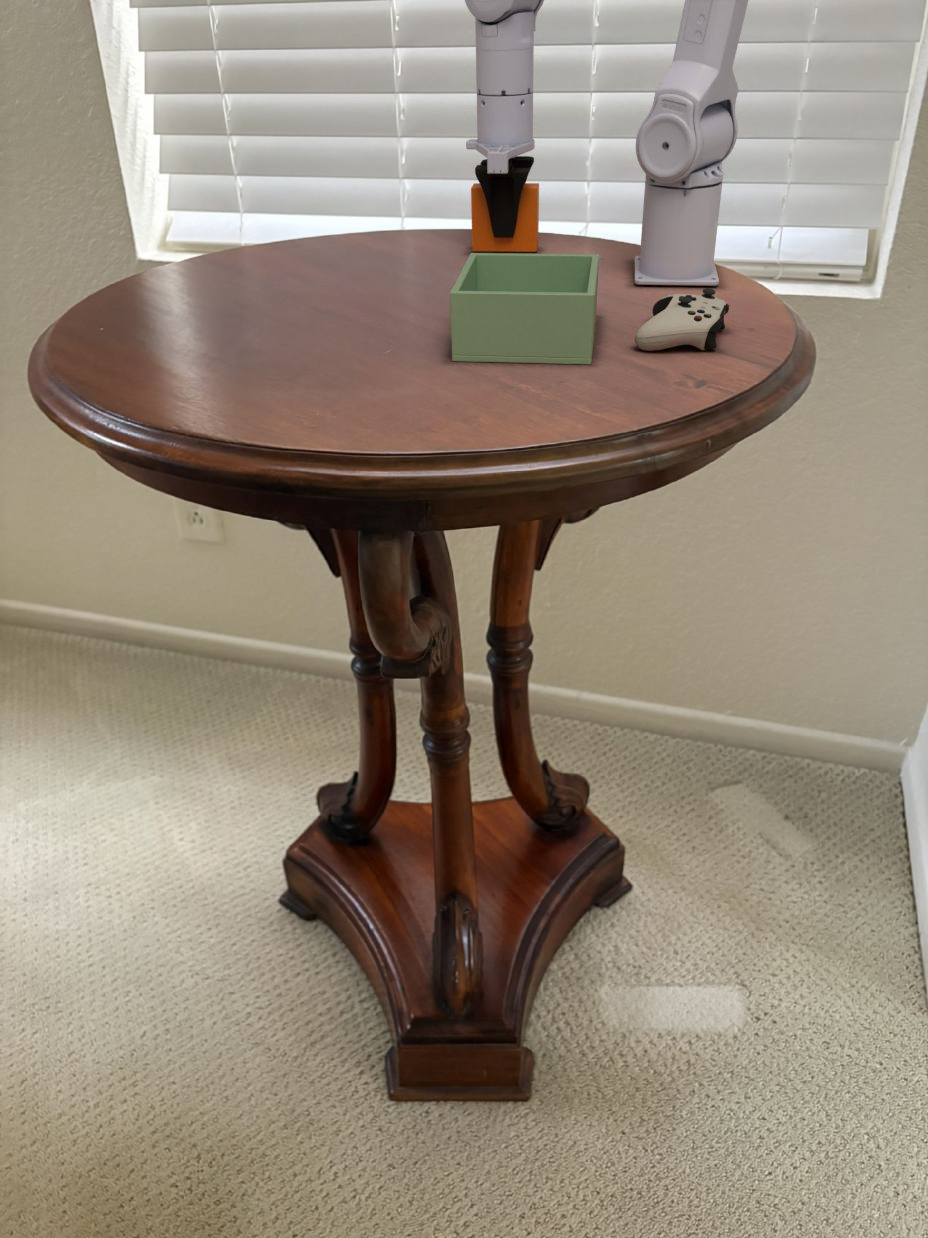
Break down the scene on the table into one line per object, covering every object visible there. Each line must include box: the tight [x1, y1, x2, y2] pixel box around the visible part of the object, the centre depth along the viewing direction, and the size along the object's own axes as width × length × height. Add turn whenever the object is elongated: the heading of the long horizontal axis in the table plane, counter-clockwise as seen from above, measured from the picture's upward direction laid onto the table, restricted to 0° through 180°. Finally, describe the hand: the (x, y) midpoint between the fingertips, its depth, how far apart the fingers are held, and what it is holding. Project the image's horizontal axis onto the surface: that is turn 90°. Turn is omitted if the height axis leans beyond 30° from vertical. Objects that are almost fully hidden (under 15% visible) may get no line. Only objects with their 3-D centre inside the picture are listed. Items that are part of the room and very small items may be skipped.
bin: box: [449, 252, 600, 365], centre depth 84 cm, size 12×11×6 cm
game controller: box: [634, 287, 730, 352], centre depth 84 cm, size 10×5×6 cm
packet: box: [470, 182, 540, 253], centre depth 108 cm, size 2×7×6 cm, turn 82°
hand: (505, 233), depth 109 cm, fingers closed on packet, 2 cm apart
